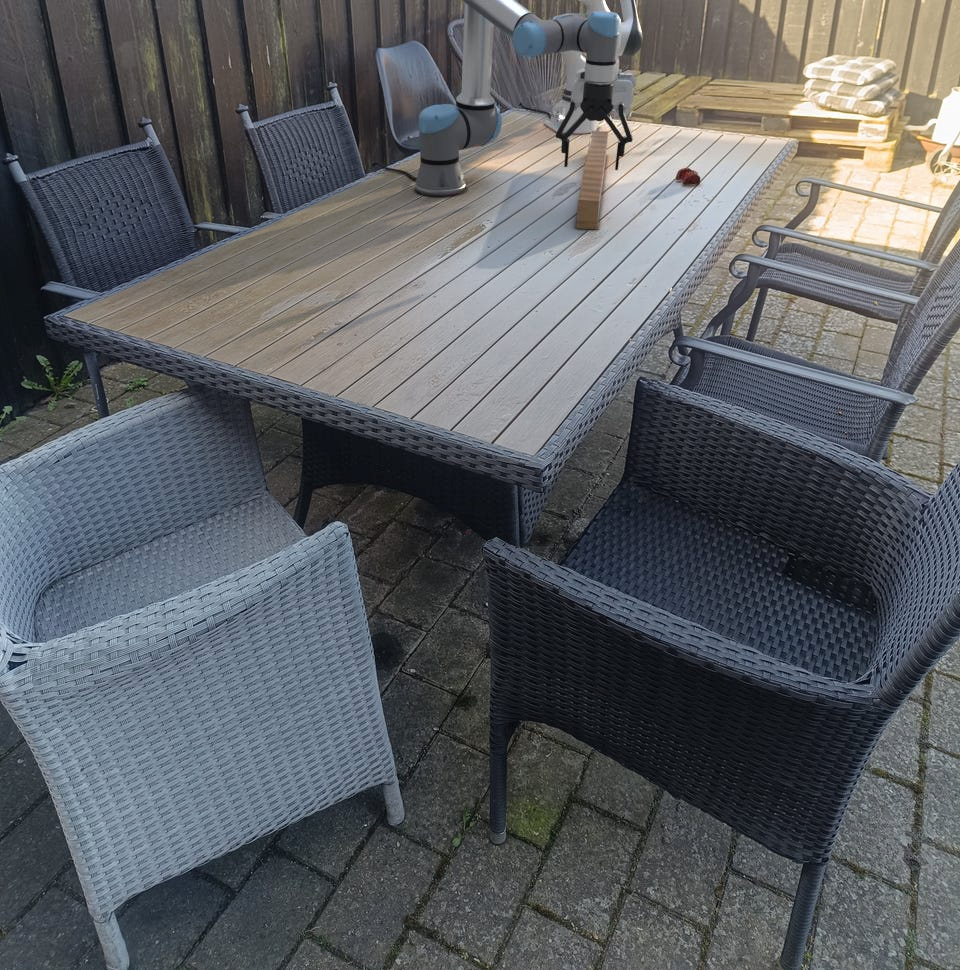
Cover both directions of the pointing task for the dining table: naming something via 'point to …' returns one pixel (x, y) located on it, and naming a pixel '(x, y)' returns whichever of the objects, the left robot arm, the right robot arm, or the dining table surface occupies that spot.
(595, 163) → the beam
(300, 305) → the dining table surface
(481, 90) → the left robot arm
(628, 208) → the dining table surface
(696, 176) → the dark red lumpy piece
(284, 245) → the dining table surface
